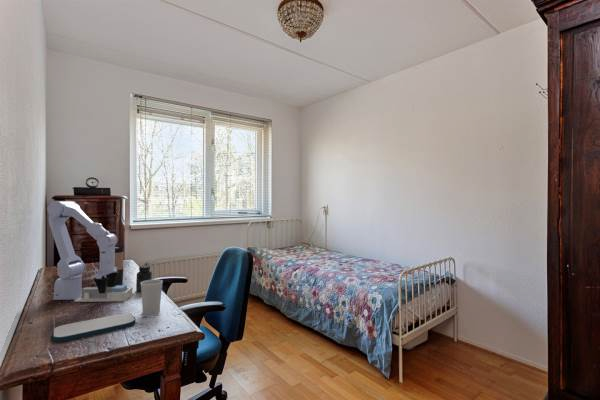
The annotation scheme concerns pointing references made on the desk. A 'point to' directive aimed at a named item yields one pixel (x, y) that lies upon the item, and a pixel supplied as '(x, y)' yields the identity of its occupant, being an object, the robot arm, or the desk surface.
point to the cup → (151, 296)
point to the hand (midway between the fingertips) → (106, 290)
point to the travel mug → (119, 264)
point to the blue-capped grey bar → (95, 293)
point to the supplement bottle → (143, 276)
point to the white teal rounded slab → (92, 327)
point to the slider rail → (108, 296)
